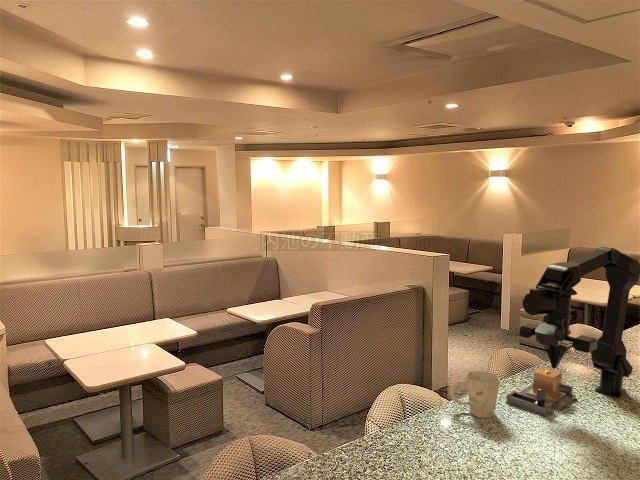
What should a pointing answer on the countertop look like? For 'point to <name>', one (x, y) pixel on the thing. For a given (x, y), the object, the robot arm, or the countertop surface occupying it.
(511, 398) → the lever track
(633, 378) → the countertop surface
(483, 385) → the mug
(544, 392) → the lever
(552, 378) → the block
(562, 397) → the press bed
